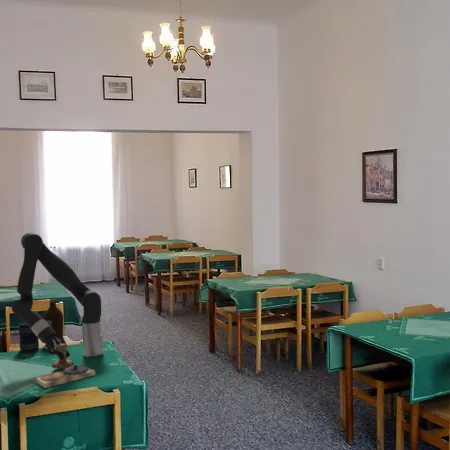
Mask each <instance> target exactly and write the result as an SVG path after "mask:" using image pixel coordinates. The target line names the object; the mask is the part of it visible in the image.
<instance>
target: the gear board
mask: <svg viewBox="0 0 450 450" xmlns="http://www.w3.org/2000/svg"><path fill="white" fill-rule="evenodd" d="M92 376H93V377H94V376H96V370H94V369H92V368H90V367H88V366H86V365H78V364H75V365H71V366H70V367H66V368H64V369H62V370H60V371H57V372H52V373H47V374H44V375H38V376H35V377H34V383H35V384H37V385H39V386H40V387H42V388H44V389H46V388H51V387H55V386H58V385H62V384H66V383H70V382H73V381H77V380H82V379H85V378H89V377H92Z"/></svg>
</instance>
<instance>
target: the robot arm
mask: <svg viewBox="0 0 450 450" xmlns="http://www.w3.org/2000/svg"><path fill="white" fill-rule="evenodd" d="M20 242H21V246H22V248H23V250H24V251H23V252H24V253H23V254H24V255H23V262H22V267H21V269H20V273H19V276H18V281H17V288H16V291H17V293H18V294H20V299H16V300H14V301H13V302H12V303H11V311H12V312H13V314H14V315H15V316H17V317H18V318H19V319H20V320H21V321H22V322H26V323H27V325H28V326H29V327H30V328H31V329H32V331H33V332H34V334H35V335H36V336H37V337H38V340H40V342H41V343H42V344H44V345H43V347H42V349H44V350H45V351H46V352H48V353H49V354H51V355H52V356H54V355H56V356H57V357H58V359H59V358H60V359H61V360H63V359H64V358H65V356H64V355H63V354H62V353H61V352H59V349H58V345H59V344H66V348H67V347H68V344H67V342H66V341H65V338H64V336H63V337H61V338H58V337H57V336H56V335H55V331H54V330H53V329H52V328H51V327H50V326H49V324H48V323H47V322H46V321H45V320H44V319H43V317H42V316H41V315H40V313H38V312H36V311H33V310H32V308H33V306H34V301H33V300H34V299H33V298H34V297H33V287H34V281H35V275H36V269H37V264H38V261H39V263H40V264H41V265H42V266H43V268H45V270H46V271H47V272H48V273H49V274H50V275H51V276H52V277H53V279H55V280H56V281H57V283H59V284H60V285H61V286H63V287H64V288H65V289H66V290H68V291H69V292H70V293H71V294H72V295H73V297H74V298H75V299H76V300H77V301H78V302H79V304H80V305H81V306H82V307H83V316H81V324H82V325H81V330H82V353H83V354H82V355H83V356H84V357H85V358H86V357H87V358H90V357H98V356H100V355H103V354H104V341H103V335H102V333H101V332H102V331H101V316H102V299H101V296H100V294H99V293H98V292H96V291H94V290H92V289H90V288H89V287H88V286H86V285H85V284H84V283H83V282H82V281H81V280H80V278H79V277H78V276H77V274H76V272H75V271H74V269H72V267H71V266H70V265H69V264H68V263H67V262H65V260H63V259H62V258H61V257H60V256H58V255H57V254H56V253H54V252H53V251H52V250H50V248H48V247H47V246H46V244H45V243H44V241H43V238H42V237H41V236H40V235H39V234H37V233H34V232H26V233H24V235H23V236H22V237H21V240H20ZM70 356H71V353H70V352H69V350H67V349H66V357H67V358H69V357H70Z"/></svg>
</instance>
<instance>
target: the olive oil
mask: <svg viewBox="0 0 450 450" xmlns="http://www.w3.org/2000/svg"><path fill="white" fill-rule="evenodd" d="M42 318H43V319H44V320H45V321H46V322H47V323H48V324H49V326H50V327H51V328H52V329H53V330H54V331H55V335H56V336H57V337H58V338H61V337H63V338H64V314H63V312H62V311H61V310H60V308H58V307H57V302H56V299H55V298H54V299H50V300H49V307H48V308H47V309H46V311H45V312H44V313H43V317H42Z"/></svg>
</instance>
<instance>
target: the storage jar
mask: <svg viewBox="0 0 450 450" xmlns="http://www.w3.org/2000/svg"><path fill="white" fill-rule="evenodd" d="M18 334H19V352H20V353H23V354H25V353H26V354H29V353H30V354H31V353H35V352H37V351H39V350H40V346H39V345H40V342H39V340H40V339H39V338H38V337H37V336H36V335H35V334H34V332H33V331H32V329H31V328H30V327H29V326H28V325H27V323H26V322H24V321H22V322H19V323H18Z"/></svg>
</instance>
